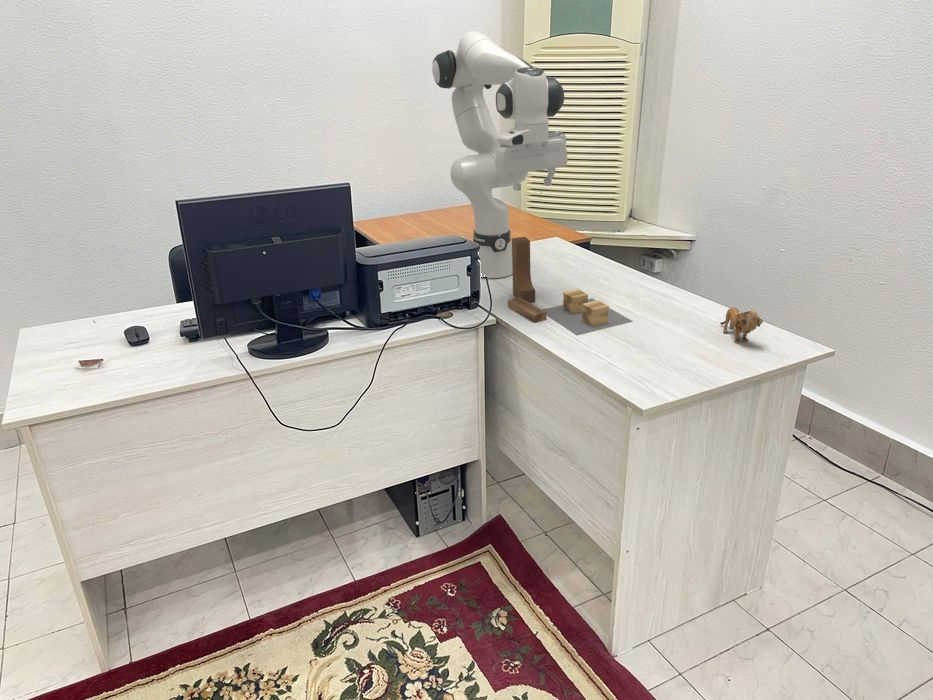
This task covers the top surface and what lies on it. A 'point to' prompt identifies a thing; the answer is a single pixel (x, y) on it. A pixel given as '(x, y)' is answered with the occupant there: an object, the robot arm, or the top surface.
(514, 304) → the lintel
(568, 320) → the mat
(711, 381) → the top surface
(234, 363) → the top surface
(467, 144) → the robot arm
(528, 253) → the wooden block
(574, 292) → the cube
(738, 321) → the lion figurine
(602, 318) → the cube
